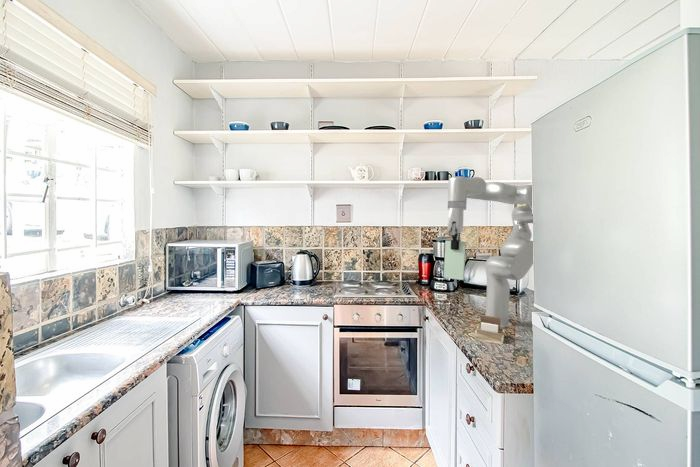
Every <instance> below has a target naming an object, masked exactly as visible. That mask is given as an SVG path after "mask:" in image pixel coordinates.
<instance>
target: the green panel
mask: <svg viewBox="0 0 700 467" xmlns="http://www.w3.org/2000/svg"><path fill="white" fill-rule="evenodd" d="M466 245H467V241H461V240H460V241H459V250H452V249H451V240H445V242H444V261H443V262H444V266H443V278H444V279H453V280H459V281H460V280H461V281H464V280H465V268H466V267H465V266H466V264H465V263H466Z"/></svg>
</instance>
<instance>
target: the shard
mask: <svg viewBox="0 0 700 467" xmlns="http://www.w3.org/2000/svg"><path fill="white" fill-rule="evenodd" d="M467 324H470V325H474V326H478V323H476V322H475V321H474V320H469V321H467Z"/></svg>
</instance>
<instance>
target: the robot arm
mask: <svg viewBox="0 0 700 467" xmlns="http://www.w3.org/2000/svg"><path fill="white" fill-rule="evenodd" d="M532 185H533V184H524V185H512V184H508V183H503V182H501V181H492V182H491V181H490V182H486V180H484V179H483V178H482V177H478V176H473V177H465V176H460V175H459V176H452V177H450V178H449V179H448V186H447V187H448V188H447V189H448V190H447V210H448V217H447V218H448V219H447V227H446V228H447V230H446V231H447V232H448V233H451V234H450V235H451V238H450V239H451V240H450V241H451V249H452V250H459V241H461V233H463V230H464V211H466V210H467V199H471V200H472V199H473V200H482V201H487V202H488V201H489V202H491V201H492V202H498V203H503V204H509V205H519V206H516V207H514V208H513V210H512V211H511V220H512V225H513V228H512V231H511V233H510V234H509V235H508V237H507V238H506V239H505V241H504V242H503V244H502V245H501V247H500V250H499V253H500V255H501V256H500V255H493V256H490V257H488V258H487V260H486V261H485V264H484V266H485V267H484V268H485V269H484V270H485V274H486V296H485V297H486V298H485V299H486V300H485V316H490V317H497V318H500V326H502V327H503V328H504V327H506V328H507V327H510V326H512V325H513V324H512V323H511V322H510V321H509V313H510V312H509V311H510V293H511V292H510V291H511V290H510V288H511V287H510V286H511V285H510V283H509V280H511V281H520V280H522V279H523V278H524V277H525V276H526V275H527V273H528V272H529V270H531V268H532V266H533V265H534V263H533V242H534V241H533V240H531V239H532V237H533V236H532V231H531V229H530V226H529V224H534V223H533V214H532Z"/></svg>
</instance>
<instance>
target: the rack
mask: <svg viewBox="0 0 700 467" xmlns="http://www.w3.org/2000/svg"><path fill="white" fill-rule="evenodd" d="M480 323H481V322H479V323H478V324H477V325H476V326H477V327H476V329H475V331H474V339H475V340H479V341H484V342H490V343H495V344H499V345H504V340H505V329H504V327H502V326H500V331H498V333H495V332H490V331H484V330H481V328H480Z"/></svg>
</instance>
